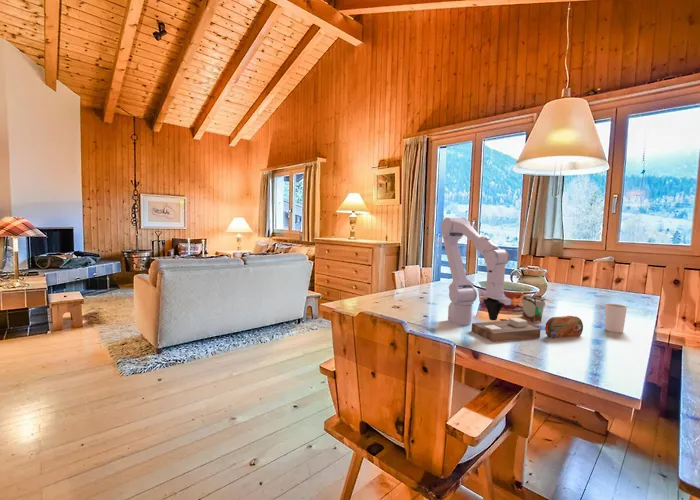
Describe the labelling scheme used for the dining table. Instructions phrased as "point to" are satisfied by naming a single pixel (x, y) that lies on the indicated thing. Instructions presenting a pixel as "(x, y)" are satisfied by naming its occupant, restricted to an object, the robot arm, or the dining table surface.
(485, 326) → the pale pink block
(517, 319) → the key back
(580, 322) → the tin
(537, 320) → the food container
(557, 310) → the dining table surface
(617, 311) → the beige cup
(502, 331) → the panel
